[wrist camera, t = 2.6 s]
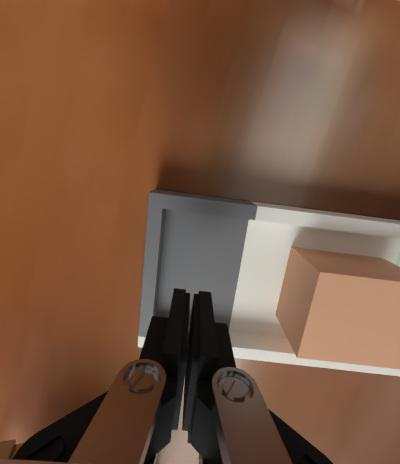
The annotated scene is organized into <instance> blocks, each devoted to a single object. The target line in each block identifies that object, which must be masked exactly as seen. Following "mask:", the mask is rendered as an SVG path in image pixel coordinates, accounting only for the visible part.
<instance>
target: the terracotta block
mask: <svg viewBox="0 0 400 464" xmlns="http://www.w3.org/2000/svg"><path fill="white" fill-rule="evenodd" d="M275 315H276V317H277V319H278V321H279V323H280V325H281V327H282V329H283V331H284V333H285V335H286V337H287V339H288V341H289V343H290V345H291V347H292V349H293V351H294V353H295V355H296V357H297V358H303V359H312V360H321V361H330V362H338V363H347V364H356V365H365V366H374V367H383V368H392V369H400V267H399V266H397V265H395V264H393V263H391V262H389V261H387V260H385V259H383V258H379V257H371V256H362V255H354V254H346V253H338V252H330V251H322V250H314V249H306V248H298V247H291V249H290V253H289V258H288V262H287V266H286V271H285V275H284V279H283V284H282V288H281V292H280V297H279V301H278V305H277V310H276V314H275Z"/></svg>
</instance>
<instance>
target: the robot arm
mask: <svg viewBox="0 0 400 464" xmlns="http://www.w3.org/2000/svg"><path fill="white" fill-rule="evenodd" d="M189 312H190V293H186V289H178V288H174V291H173V297H172V302H171V308H170V313H169V318H168V317H158V316H152V318H151V321H150V324H149V328H148V331H147V335H146V338H145V341H144V345H143V348H142V351H141V355H140V358H139V360H135V361H132V362H130V363H128V364H127V365H125V366H124V367H123V368H122V369H121V371H120V372H119V374H118V375H117V377H116V379H115V381H114V382H113V384H112V386H111V388H110V389H109V391H108V392H106V393H104V394H102V395H101V396H99V397H97V398H96V399H94V400H92V401H90V402H89V403H87V404H85V405H84V406H82V407H80V408H79V409H77V410H75V411H73V412H72V413H70V414H68V415H67V416H65V417H63V418H61V419H60V420H58V421H56V422H55V423H53V424H51V425H50V426H48V427H46V428H44V429H43V430H41V431H39V432H38V433H36V434H35V435H33V436H32V437H31V438H29V439H28V440H27V441H26V442H25V443H21V444H16V439H15V440H8V441H2V442H0V464H156V461H157V454H158V452H159V451H160V450H161V449H163V448H164V447H165V446H166V445H167V444H168V443H169V442H170V439H171V431H172V430H177V429H178V422H179V414H180V407H181V400H182V392H183V385H184V377H185V388H184V407H183V426H182V430H185V431H188V443H191V444H192V446H193V447H194V448H195V449H196V450H197V452H198V453H199V464H333V463H332V462H331V461H330V460H329V459H328V458H327V457H326V456H325V455H324V454H323V453H321V452H320V451H319V450H318V449H317V448H315V447H314V446H313V445H312V444H310V443H309V442H308V441H307V440H306V439H304V438H303V437H302V436H301V435H299V434H298V433H297V432H296V431H295V430H293V429H292V428H291V427H290V426H289V425H287V424H286V423H285V422H284V421H282V420H281V419H280V418H279V417H278V416H276V415H275V414H274V413H273V412H271V411H270V410H269V409H268V408H267V405H266V403H265V401H264V399H263V396H262V394H261V392H260V390H259V387H258V385H257V383H256V382H255V380H254V379H253V378H252V377H251V376H250V375H249V374H248V373H247V372H245V371H243V370H241V369H238V368H236V365H235V360H234V355H233V350H232V345H231V340H230V335H229V330H228V325H227V324H226V323H217V322H215V320H214V312H213V303H212V295H211V292H206V291H199V293H198V294H194V297H193V304H192V312H191V319H190V327H189ZM188 333H189V334H188Z"/></svg>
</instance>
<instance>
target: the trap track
mask: <svg viewBox="0 0 400 464" xmlns="http://www.w3.org/2000/svg"><path fill="white" fill-rule="evenodd" d="M291 247H298V248H306V249H314V250H322V251H330V252H338V253H346V254H354V255H362V256H371V257H379V258H383V259H385V260H387V261H389V262H391V263H393V264H395V265H397V266H399V267H400V220H392V219H384V218H376V217H369V216H361V215H353V214H345V213H337V212H330V211H322V210H314V209H306V208H298V207H291V206H283V205H275V204H267V203H259V202H252V201H244V200H236V199H228V198H220V197H213V196H205V195H197V194H189V193H181V192H174V191H166V190H158V189H155V190H153V191H151V192H149V201H148V215H147V228H146V242H145V255H144V269H143V282H142V296H141V309H140V323H139V336H138V347H143V345H144V341H145V338H146V335H147V331H148V328H149V324H150V321H151V318H152V316H158V317H168V318H169V313H170V308H171V302H172V297H173V291H174V288H178V289H186V293H190V312H189V327H190V319H191V312H192V304H193V297H194V294H198V293H199V291H206V292H211V295H212V303H213V312H214V320H215V322H217V323H226V324H227V325H228V330H229V335H230V340H231V345H232V350H233V355H234V358H241V359H250V360H259V361H268V362H277V363H286V364H295V365H304V366H313V367H322V368H331V369H340V370H349V371H358V372H366V373H375V374H384V375H393V376H400V369H392V368H383V367H374V366H365V365H356V364H347V363H338V362H330V361H321V360H312V359H303V358H297V357H296V355H295V353H294V351H293V349H292V347H291V345H290V343H289V341H288V339H287V337H286V335H285V333H284V331H283V329H282V327H281V325H280V323H279V321H278V319H277V317H276V315H275V314H276V310H277V305H278V301H279V297H280V292H281V288H282V284H283V279H284V275H285V271H286V266H287V262H288V258H289V253H290V249H291ZM188 334H189V333H188Z"/></svg>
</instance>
